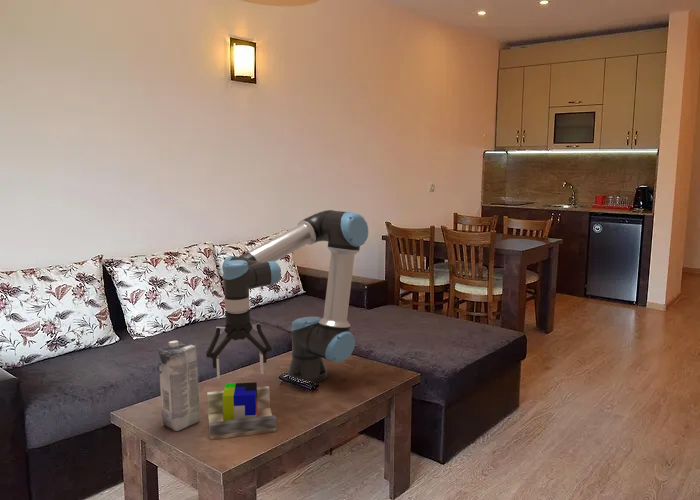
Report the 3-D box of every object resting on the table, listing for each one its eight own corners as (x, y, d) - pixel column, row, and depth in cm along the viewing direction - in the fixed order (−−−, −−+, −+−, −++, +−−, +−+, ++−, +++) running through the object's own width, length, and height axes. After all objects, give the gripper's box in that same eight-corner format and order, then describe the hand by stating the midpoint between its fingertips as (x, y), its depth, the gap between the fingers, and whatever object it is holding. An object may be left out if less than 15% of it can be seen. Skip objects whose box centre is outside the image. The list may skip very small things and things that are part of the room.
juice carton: (203, 421, 188) (200, 341, 183) (176, 434, 179) (171, 350, 175) (186, 414, 193) (182, 335, 188) (158, 425, 185) (154, 344, 180)
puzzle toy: (256, 425, 183) (255, 394, 181) (223, 426, 182) (222, 396, 180) (257, 411, 193) (256, 382, 191) (226, 412, 192) (225, 383, 190)
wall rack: (269, 408, 197) (268, 386, 196) (276, 431, 181) (275, 407, 180) (208, 415, 192) (207, 392, 191) (210, 439, 176) (209, 414, 175)
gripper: (275, 303, 188) (277, 366, 192) (195, 310, 182) (199, 374, 186) (279, 310, 181) (281, 374, 185) (196, 317, 175) (200, 383, 179)
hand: (240, 374), depth 185 cm, fingers open, 13 cm apart
